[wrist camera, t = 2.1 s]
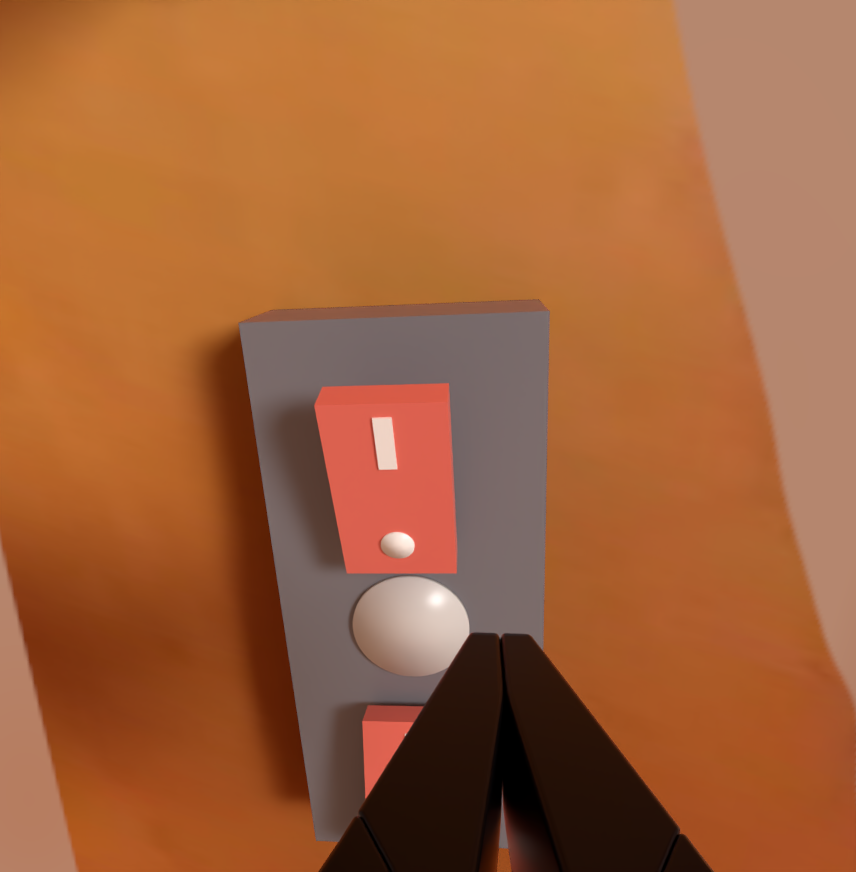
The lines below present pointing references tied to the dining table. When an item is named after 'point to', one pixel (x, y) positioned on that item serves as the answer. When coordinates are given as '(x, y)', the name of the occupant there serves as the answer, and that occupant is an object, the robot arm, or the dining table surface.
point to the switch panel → (474, 505)
